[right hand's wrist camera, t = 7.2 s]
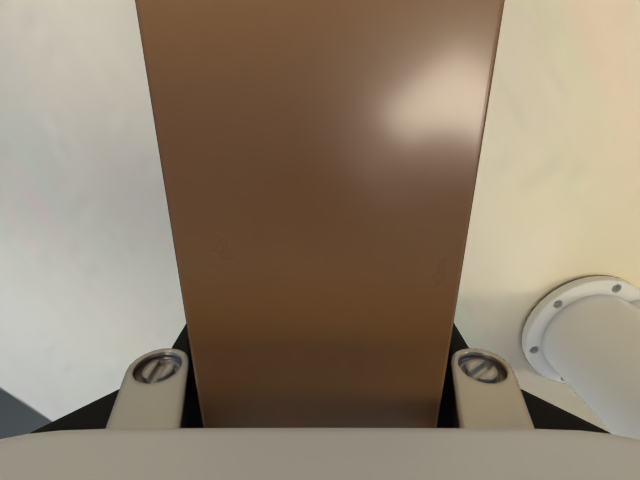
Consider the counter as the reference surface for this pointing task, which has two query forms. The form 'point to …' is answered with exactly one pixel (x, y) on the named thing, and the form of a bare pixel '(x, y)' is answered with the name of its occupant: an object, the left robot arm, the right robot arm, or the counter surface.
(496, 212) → the counter surface
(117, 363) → the counter surface
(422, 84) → the bar
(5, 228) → the counter surface
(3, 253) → the counter surface
